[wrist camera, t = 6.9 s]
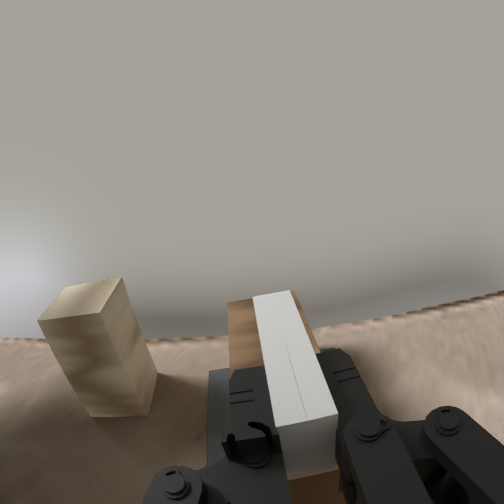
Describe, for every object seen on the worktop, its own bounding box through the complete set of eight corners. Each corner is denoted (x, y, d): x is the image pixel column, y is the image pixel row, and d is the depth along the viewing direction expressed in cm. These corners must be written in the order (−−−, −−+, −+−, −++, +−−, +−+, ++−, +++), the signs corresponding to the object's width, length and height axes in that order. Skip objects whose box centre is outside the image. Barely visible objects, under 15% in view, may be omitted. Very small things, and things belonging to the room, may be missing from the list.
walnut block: (237, 487, 10) (227, 302, 24) (256, 526, 12) (239, 354, 26) (365, 461, 10) (293, 290, 24) (355, 505, 12) (299, 343, 26)
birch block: (91, 417, 20) (37, 320, 17) (106, 377, 25) (66, 287, 22) (148, 415, 21) (99, 312, 17) (157, 372, 25) (121, 276, 22)
